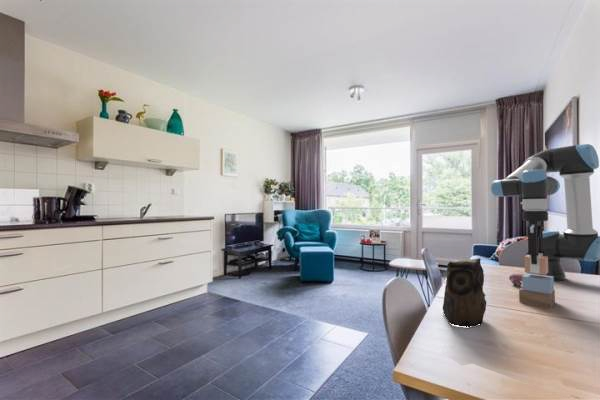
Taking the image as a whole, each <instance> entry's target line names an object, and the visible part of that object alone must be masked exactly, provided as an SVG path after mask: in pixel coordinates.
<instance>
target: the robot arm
mask: <svg viewBox="0 0 600 400" xmlns="http://www.w3.org/2000/svg"><path fill="white" fill-rule="evenodd" d="M599 166H600V161H599V156H598V153H597V150H596V149H595V147H594V146H593V144H589V143H586V144H585V143H583V144H574V145H569V146H562V147H556V148H547V149H545V150H541V151H540V152H537V153H535V154H533V155H531V156H529V157H528V158H527V159H525V161H524V162H523V163H522V165H521V166H520V167H518V168H517V169H516V170H514V171H513V172H512V173H510V174H509V175H508V176H506V177H505V178H504V179H496V180H495V179H494V180H493V181H492V183H491V186H490V190H491V194H492V195H493V196H494V197H496V198H498V197H500V198H501V197H503V198H507V197H521V200H522V201H521V202H520V205H522V206H521V207H522V210H523V211H522V221H526V222H527V221H528V222H529V225H527V228H526V229H527V244H528V245H527V252H526V255H530V272H531V273H530V274H534V273H539V274H538V275H542V274H540V264H539V256H548V273H547V274H546V275H545V276H553V277H554V281H565V280H566V279H567V277H566V273H565V270H564V268H563V266H562V264H561V259H569V260H576V261H584V262H597V261H599V260H600V235H599V232H598V231H597V230H596V229H594V227H593V226H594V225H593V212H592V209H593V208H592V197H591V182H590V180H591V179H590V177H591V176H592V175H594V172H595V170H596V169H599ZM548 173H559V174H558V175H559V177H561V178H563V182H564V184H563V185H564V198H565V213H566V229H565V230H563V233H562V234H561V232H560V231H559V230H555V231H554V230H553V231H552V230H551V231H543V230H544V226H543V225H542V223H541V222H547V221H548V220H549V211H547V210H549V203H548V201H549V200H548V197H549V196H552V195H554V194H557V192H558V191H560V190H559V189H560V187H561V184H560V182H559V181H558V179H556V178H554V177H552V176H549V175H547V174H548Z"/></svg>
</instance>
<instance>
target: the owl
mask: <svg viewBox="0 0 600 400" xmlns="http://www.w3.org/2000/svg"><path fill="white" fill-rule="evenodd" d="M484 272H485V271H484V268H483V267H482V264H481V258H479V257H477V258H472V259H464V260H463V259H460V260H456V261H449V262H448V263H447V266H446V272H445V276H446V278H445V279H446V280H445V281H446V282H445V289H444V296H443V303H442V304H443V305H442V311H443V312H442V314H443V313H444V314H445V315H444V314H443V315H444V317H445V316H446V317H447V318H446V317H445V318H446V320H447V319H448V320H449V321H448V323H449V322H450V323H451V324H454V325H459V326H466V327H467V326H468V327H470V326H476V325H478V324H480V325H478V326H482V325H483V324H484V322H483V321H484V316H485V312H486V310H487V300H486V294H485V292H484V288H483V287H484V284H485V283H484V282H485V274H484ZM481 324H482V325H481ZM476 327H477V326H476Z"/></svg>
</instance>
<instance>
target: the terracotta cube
mask: <svg viewBox="0 0 600 400" xmlns="http://www.w3.org/2000/svg"><path fill="white" fill-rule="evenodd" d="M539 264H540V274H542V275H546V274H547V273H548V256H539ZM524 272H525V274H526V273H531V272H530V255H527V254H526V255H525V256H524ZM534 274H539V273H534Z"/></svg>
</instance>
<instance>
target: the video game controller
mask: <svg viewBox="0 0 600 400" xmlns="http://www.w3.org/2000/svg"><path fill="white" fill-rule="evenodd" d="M523 275H524V274H523V273H522V274H521V273H513V274H510V275H509V276H508V279H509V281H511V283H512V284H514V285H516V286H517V287H521V286H522V276H523Z"/></svg>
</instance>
